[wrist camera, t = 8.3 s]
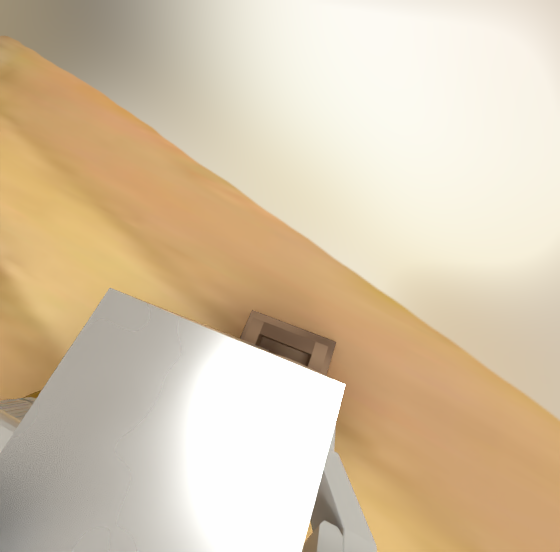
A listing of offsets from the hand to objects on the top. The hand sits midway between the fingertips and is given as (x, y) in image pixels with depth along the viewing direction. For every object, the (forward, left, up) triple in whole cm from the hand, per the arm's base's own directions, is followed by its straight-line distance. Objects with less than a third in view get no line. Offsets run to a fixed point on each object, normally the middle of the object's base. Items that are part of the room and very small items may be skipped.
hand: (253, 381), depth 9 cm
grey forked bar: (0, 0, -9) cm, 9 cm away
